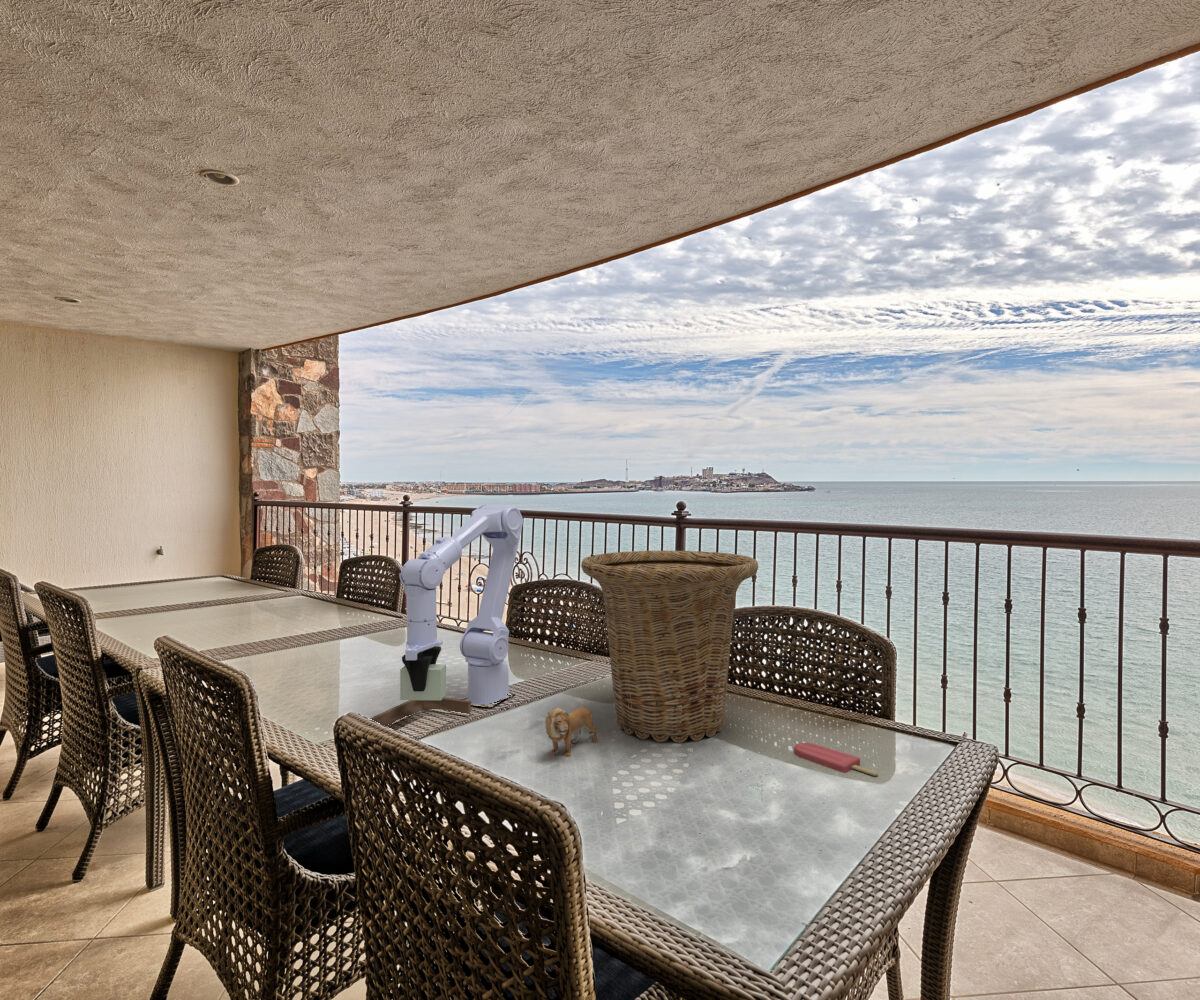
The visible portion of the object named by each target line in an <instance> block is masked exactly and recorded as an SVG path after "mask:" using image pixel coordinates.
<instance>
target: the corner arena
mask: <svg viewBox="0 0 1200 1000" xmlns="http://www.w3.org/2000/svg"><path fill="white" fill-rule="evenodd" d="M429 709H443V710H448V711H455V712H461V713H470V712H471V713H472V706H471V701H467V700H465V699H461V698H460V699H459V698H452V697H451V698H450V697H445V696H444V697H443V698H442V700H405V702H402V703H400V704H398V705H396V706H394V707H392V708H390V709H387V710H385V711H383V712H380V713H379V714H377V715H375V716H372V717H370V718H369V719H372V720H374V721H376V722H378V723H380V724H382V725H385V726H388V728H390V727H391V726H390V725H392V723H393V722H395V721H396V720H398V719H401V718H403V717H405V716H409V715H412V714H414V713H416V714H417V712H418V713H419V711H420V712H422V711H426V710H429ZM414 715H415V714H414ZM412 716H413V715H412ZM388 724H389V725H388ZM392 726H393V725H392ZM396 729H397V730H398V728H396ZM400 731H401V730H400ZM401 732H403V731H401ZM404 733H405V734H408V733H406V732H404ZM408 735H410V734H408ZM410 736H413V735H410ZM413 737H415V736H413ZM415 738H417V737H415ZM417 740H419V738H418V739H417Z"/></svg>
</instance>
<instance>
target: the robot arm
mask: <svg viewBox="0 0 1200 1000" xmlns="http://www.w3.org/2000/svg"><path fill="white" fill-rule="evenodd" d="M523 525H524V518H523V516H522V513H521V511H520V509H519V508H518V506H516V505H514V504H509V505H487V504H481V505H479V506H477V508H476V509H474V510H472V511H471V516H470V517H469V518H468V519H467V520H466V522H464V523H463V525H462V526H460V527H459V529H458V530H457V531H455V532H454V534H452V535H451V537H449V536H443V537H437V539H435V543H433V545H431V546H429V548H427V549H426V550H425V551H422V552H421V553H420V555H419V556H418V557H417V558H411V559H409V560H407V561H406V562H405V564H403V566H402V567H401V568H402V569H401V572H400V573H399V580H400V583H401V584H402V585H403V590H404V592H403V593H404V594H405V596H406V642H405V648H406V649H405V652H404V653H405V654H404V655H402V656H401V662H402V663H403V666H405V667H406V668H407V671H408V673H409V676H410V680H411V684H412V688H413V691H425V687H426V681H427V673H428V668H429V665H430V664H437V660H438V658H439V655H440V653H441V652H442V647H441V646H442V645H444V642H443V639H442V640H440V639H438V633H437V632H438V631H437V630H438V628H437V620H438V619H437V615H438V614H437V587H439V586H440V585H441V583H442V581H443V577H444V575H445V573H446V572H447V571H448V569H450V568H451V567H453V565H454V564H455V563H457V561H459V560H460V559H461V558H462V553H463V549H464V548H466V547H467V546H469V545H470V544H471V543H472V542H473V541H475V540H477V538H479V537H480V536H482V537H483V538H484V540H485V541H486V542H488V543H489V544H490V545H491V547H492V552H491V558H490V562H489V567H488V571H487V575H486V579H485V584H484V587H483V592H482V596H481V600H480V605H479V610H478V614H477V616H475V617H474V618H473V619H472V620H470V621H469V622H468V623H467V625H466V628H465V631H464V633H463V635H462V636H461V639H460V642H459V650H460V651H459V652H460V653H461V655H462V656H463V657H464V658H465V661H464V662H466V663H467V684H468V686H467V688H468V689H467V693H468V695H467V696H468V697H467V698H465V699H464V700H467V701H471V704H489V703H494V702H497V701H499V700H500V699H501V698H502V697H504V696H505V695H507V694H508V695H511V694H512V693H510V691H509V689H510V687H509V686H510V685H509V682H510V681H509V667H508V664H507V661H505V659H506V657H507V655H508V652H509V647H510V646H509V635H510V630H509V628H508V627H507V625H505V623H504V622H503V621H502V620H503V619H502V618H503V615H504V612H505V611H504V610H505V606H506V601H507V596H508V592H509V587H510V584H511V580H512V575H513V571H514V565H515V561H516V558H517V553H518V548H519V542H520V536H521V533H522V529H523ZM506 697H507V696H506Z"/></svg>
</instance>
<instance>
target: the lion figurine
mask: <svg viewBox="0 0 1200 1000" xmlns="http://www.w3.org/2000/svg"><path fill="white" fill-rule="evenodd" d="M593 721H594V720H593V715H592V712H591V710H590V709H589V708H587V707H583V706H582V707H577V708H575V709H574V710H573V711H571V712H569V713H568V712H567V711H565V710H563V709H562V708H561V707H555V708H552V709H550V710H549V711H548V712H547V715H546V716H545V722H544V723H545V731H546V732H545V733H546V735H547V736H548V738H549V739H550V740H551V742H552V750H550V754H551V755H552V754H553V756H554V755H555V754H556V755H557V754H558V752H559V744H558V743H559V742H562V741H564V750H563V751H564V753H563V756H564V757H568V758H570V757H571V755H572V753H571V743H572V744H575V743H578V741H579V738H580V737H581V734H582V730H581V729H582V726H584V727H585V728H586V729H587V730H588V731H589V732H588V733H589V734H590V735H593V736H592V737H591V738H590V741H591V742H593V743H596V742H598V730H597V728H596V727H595V725H594V722H593ZM573 734H575V735H574V737H573V738H572V735H573ZM556 755H555V756H556Z"/></svg>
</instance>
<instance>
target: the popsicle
mask: <svg viewBox="0 0 1200 1000" xmlns="http://www.w3.org/2000/svg"><path fill="white" fill-rule="evenodd" d="M793 753H794V754H795V756H797V757H798V758H801V759H804V760H807V761H808V762H812V763H815V764H818V765H821V766H824V767H826V768H829V769H832V770H835V771H838V772H840V773H843V774H844V773H845V774H846V773H848V772H849V771H851V770H856V771H858V772H862V773H865V774H868V775H870V776H874V777H876V776H878V775H879V772H877V771H875V770H872V769H869V768H865V767H864V766H860V765H861V758H860V757H857V756H855V755H852V754H848V753H845V752H842V751H839V750H837V749H836V750H835V749H832V748H829V747H826V746H822V745H819V744H815V743H810V742H800V743H797V744H795V745H794V748H793Z"/></svg>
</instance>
